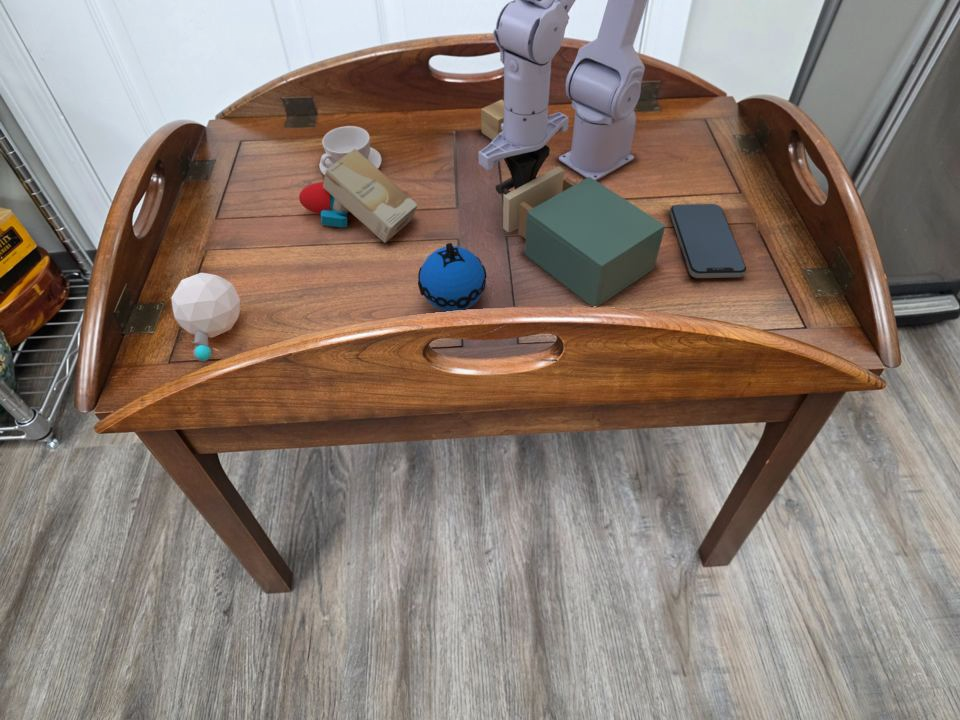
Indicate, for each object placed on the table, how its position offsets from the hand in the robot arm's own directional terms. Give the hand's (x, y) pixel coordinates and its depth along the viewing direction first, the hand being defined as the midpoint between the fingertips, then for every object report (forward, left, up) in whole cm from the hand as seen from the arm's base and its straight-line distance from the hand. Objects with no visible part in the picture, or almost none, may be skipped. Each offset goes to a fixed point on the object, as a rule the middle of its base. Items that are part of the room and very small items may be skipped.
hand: (522, 191), depth 93 cm
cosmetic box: (+16, -7, -2) cm, 18 cm away
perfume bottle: (+46, -7, -4) cm, 47 cm away
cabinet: (0, +14, -4) cm, 14 cm away
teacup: (+13, -27, -4) cm, 30 cm away
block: (-11, -18, -4) cm, 22 cm away
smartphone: (-15, +22, -4) cm, 27 cm away
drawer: (0, +6, -3) cm, 7 cm away
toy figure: (+19, -17, -4) cm, 26 cm away
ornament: (+19, +8, -4) cm, 21 cm away
